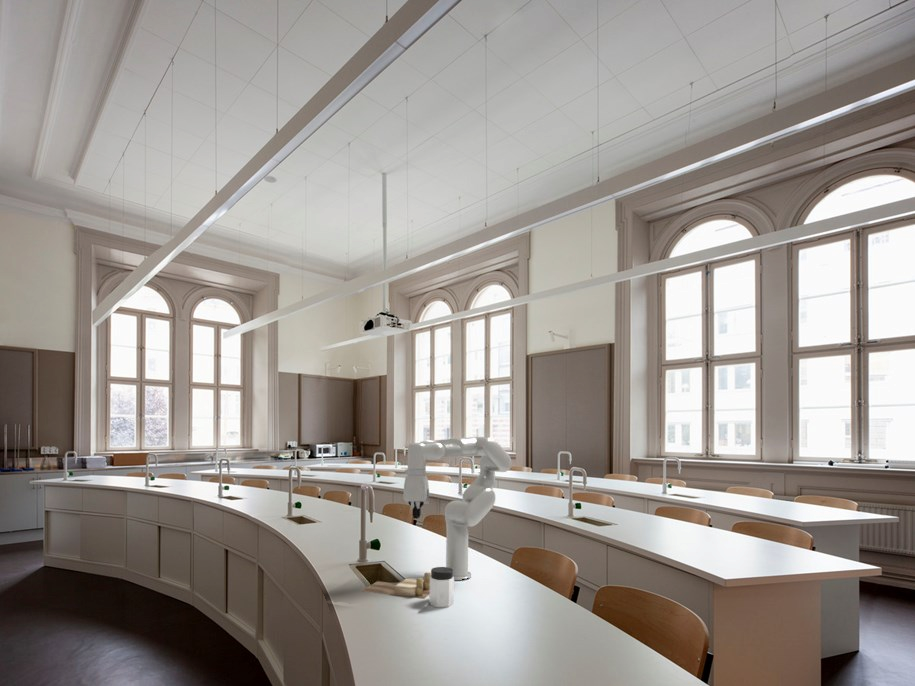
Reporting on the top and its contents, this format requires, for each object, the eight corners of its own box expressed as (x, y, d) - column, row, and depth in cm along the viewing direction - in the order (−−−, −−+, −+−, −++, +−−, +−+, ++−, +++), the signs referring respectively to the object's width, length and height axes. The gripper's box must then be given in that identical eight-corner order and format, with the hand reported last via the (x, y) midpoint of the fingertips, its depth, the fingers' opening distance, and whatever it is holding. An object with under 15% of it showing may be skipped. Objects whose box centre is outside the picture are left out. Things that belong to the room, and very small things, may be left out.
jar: (430, 608, 197) (431, 572, 199) (428, 600, 205) (429, 567, 207) (455, 607, 198) (455, 572, 200) (452, 600, 206) (452, 566, 208)
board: (377, 583, 225) (378, 565, 226) (436, 590, 217) (437, 572, 218) (361, 593, 212) (361, 574, 213) (423, 601, 204) (424, 581, 205)
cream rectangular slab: (407, 585, 220) (407, 577, 220) (426, 587, 217) (426, 579, 218) (394, 594, 209) (395, 585, 209) (414, 596, 206) (414, 588, 207)
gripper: (396, 473, 229) (396, 518, 227) (430, 474, 224) (430, 520, 222) (403, 471, 236) (403, 515, 234) (436, 472, 231) (436, 517, 229)
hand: (416, 517), depth 228 cm, fingers closed
